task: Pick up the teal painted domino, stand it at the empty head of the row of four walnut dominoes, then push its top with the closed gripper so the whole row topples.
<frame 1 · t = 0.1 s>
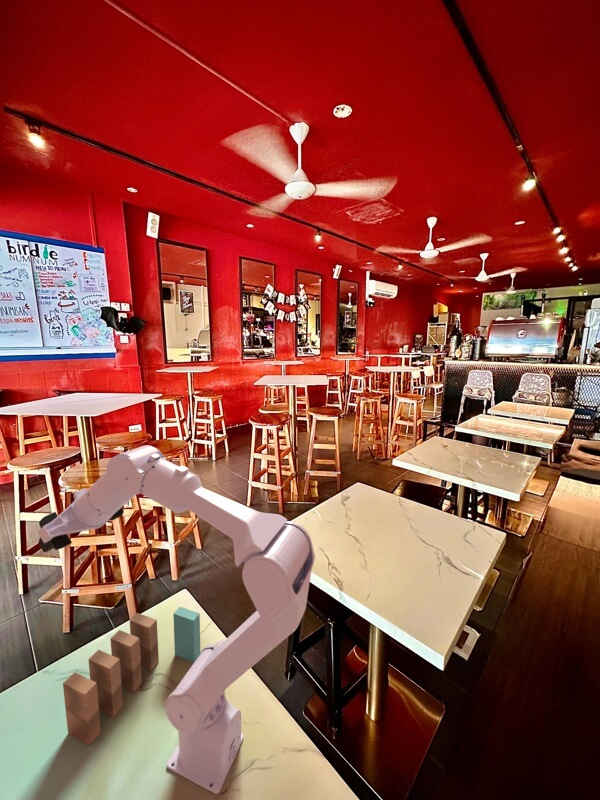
hand: (66, 534, 58), 32 cm above the table, tool tilted 50°, fingers open, 7 cm apart
domino 2: (145, 662, 69), on the table
domino 3: (127, 682, 64), on the table
domino 1: (187, 654, 71), on the table
domino 5: (84, 732, 56), on the table
domino 4: (107, 706, 60), on the table
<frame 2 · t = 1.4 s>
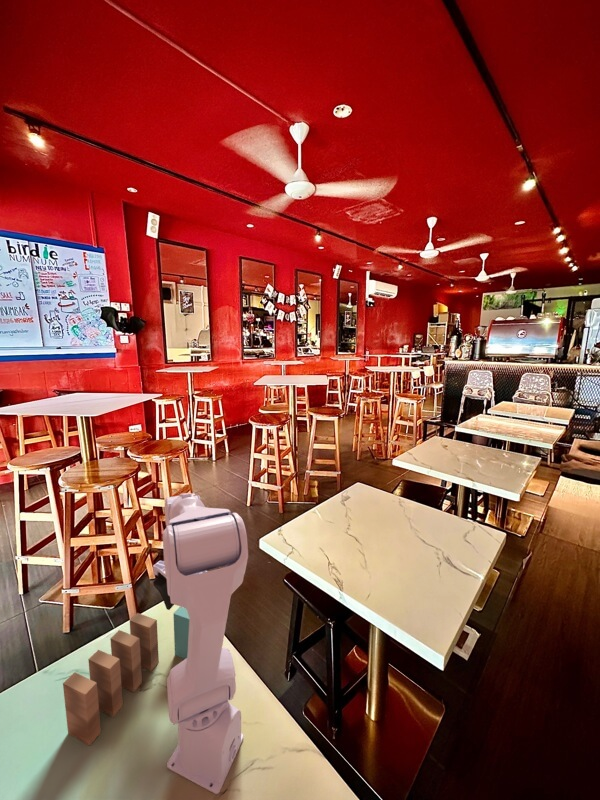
hand: (186, 611, 69), 10 cm above the table, tool pointing down, fingers open, 7 cm apart
nothing on the table moved.
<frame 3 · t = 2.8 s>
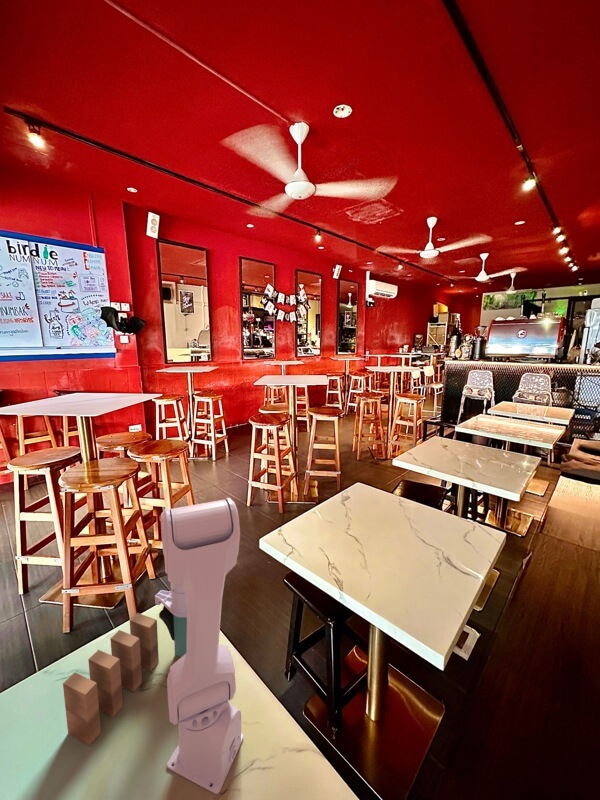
hand: (187, 640, 70), 3 cm above the table, tool pointing down, fingers closed on domino 1, 5 cm apart
domino 1: (187, 654, 71), on the table, touching gripper
everything else where it was.
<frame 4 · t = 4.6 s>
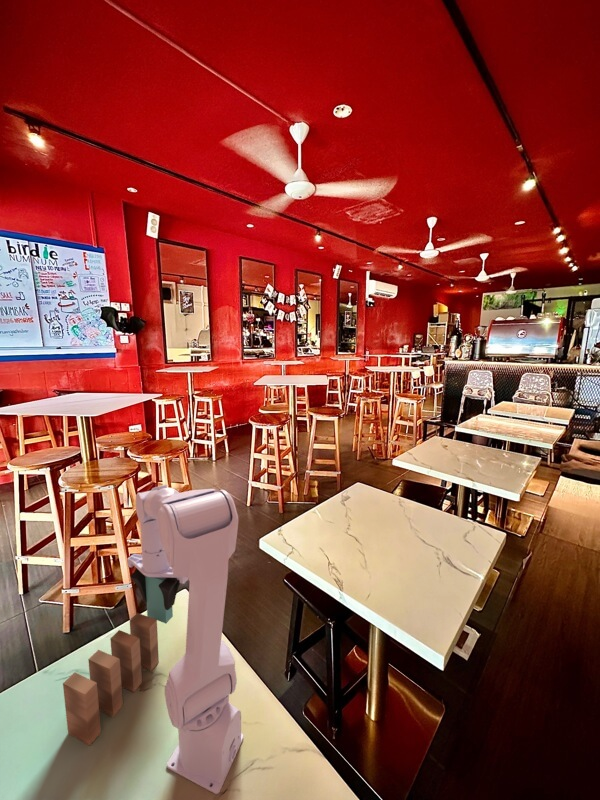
hand: (159, 602, 71), 10 cm above the table, tool pointing down, fingers closed on domino 1, 5 cm apart
domino 1: (160, 616, 72), point 7 cm above the table, touching gripper
everything else where it was.
when the fingers open (4 cm above the table, at t = 6.4 s): domino 1 drops 1 cm, on the table.
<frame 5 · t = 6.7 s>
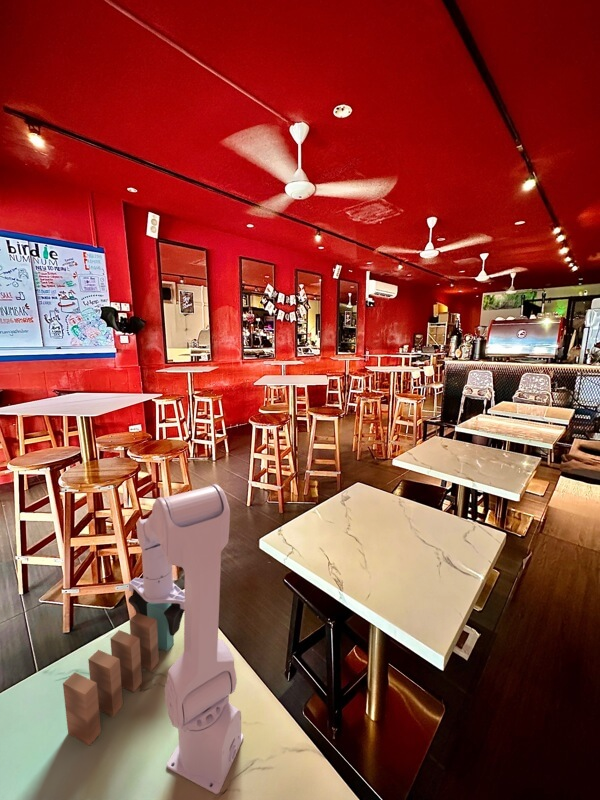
hand: (160, 626, 72), 4 cm above the table, tool pointing down, fingers open, 7 cm apart
domino 1: (161, 644, 73), on the table
everything else where it was.
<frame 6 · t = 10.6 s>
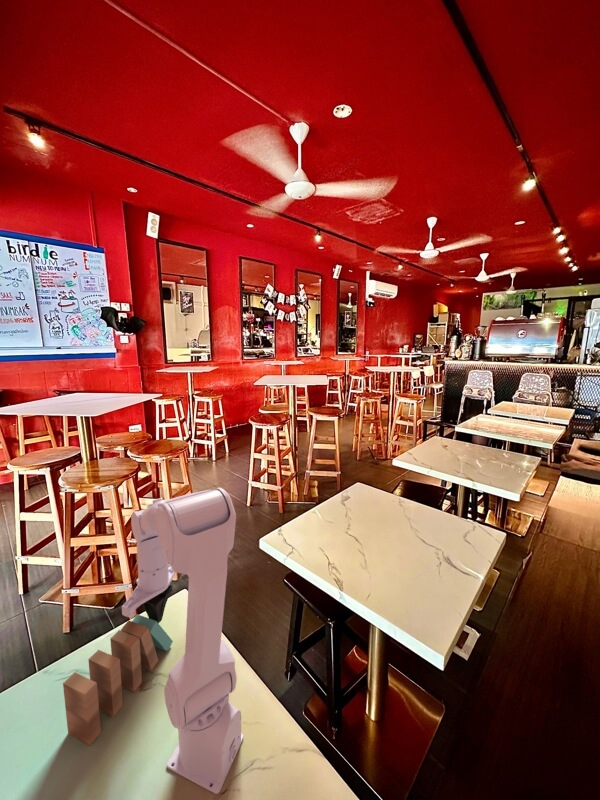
hand: (155, 620, 70), 7 cm above the table, tool pointing down, fingers closed
domino 2: (145, 661, 69), on the table, tilted 13°
domino 1: (160, 642, 73), on the table, tilted 27°
everything else where it was.
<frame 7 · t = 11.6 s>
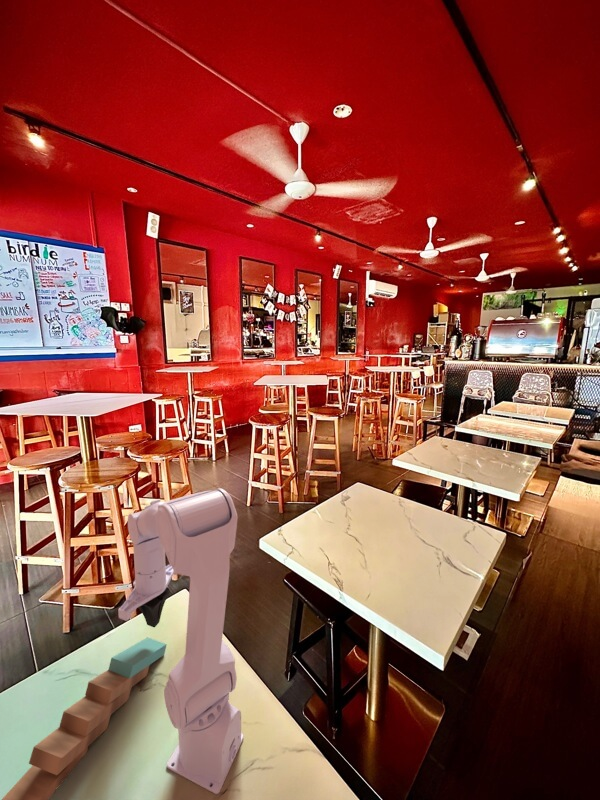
hand: (153, 623, 70), 7 cm above the table, tool pointing down, fingers closed
domino 2: (137, 666, 67), point 1 cm above the table, tilted 65°, touching domino 1, domino 3
domino 3: (118, 689, 62), point 1 cm above the table, tilted 65°, touching domino 2
domino 1: (155, 646, 71), point 1 cm above the table, tilted 65°, touching domino 2
domino 5: (76, 741, 54), point 1 cm above the table, tilted 90°, touching domino 4
domino 4: (96, 717, 57), point 1 cm above the table, tilted 65°, touching domino 5
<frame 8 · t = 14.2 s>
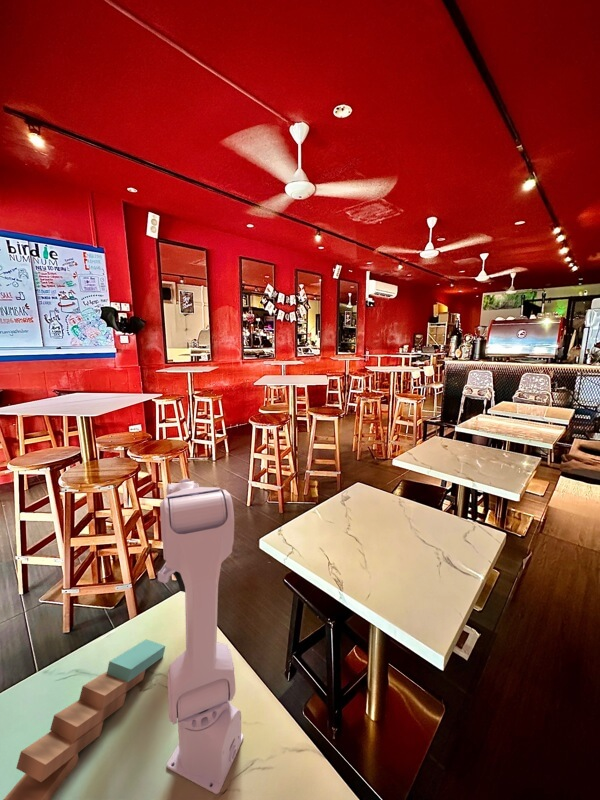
hand: (186, 590, 75), 10 cm above the table, tool pointing down, fingers closed
domino 3: (114, 694, 61), point 1 cm above the table, tilted 66°, touching domino 2, domino 4
domino 5: (65, 751, 53), point 1 cm above the table, tilted 90°
domino 4: (90, 722, 57), point 1 cm above the table, tilted 66°, touching domino 3
at the end: domino 1 1.7 cm from the target spot, point 0.9 cm above the table; domino 3 tilted 66°; domino 5 tilted 90° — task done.
